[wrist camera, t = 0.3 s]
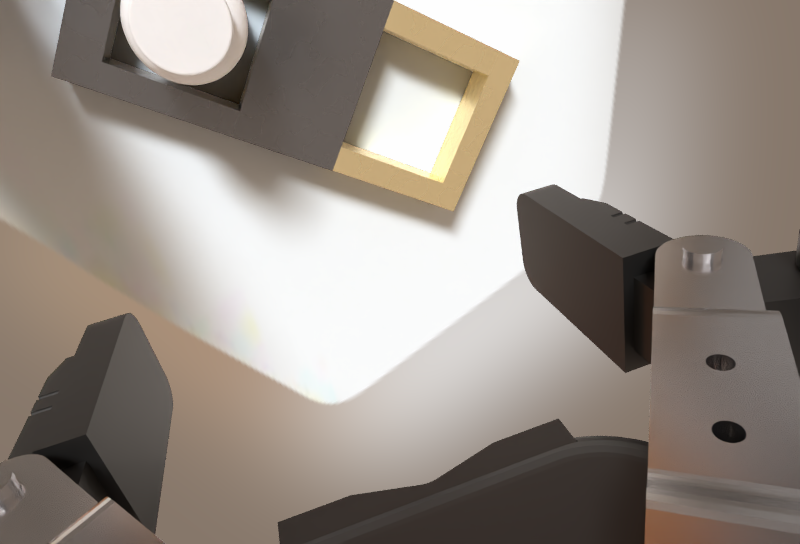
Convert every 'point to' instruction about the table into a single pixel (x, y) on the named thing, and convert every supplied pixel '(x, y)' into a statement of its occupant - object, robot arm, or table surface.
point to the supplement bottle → (186, 37)
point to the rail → (306, 86)
